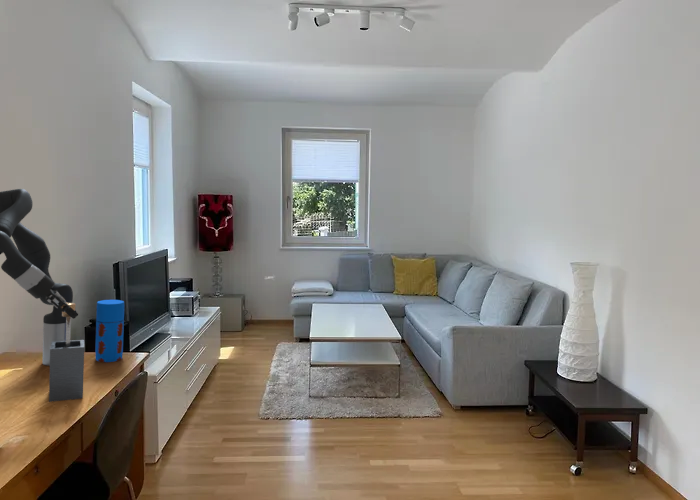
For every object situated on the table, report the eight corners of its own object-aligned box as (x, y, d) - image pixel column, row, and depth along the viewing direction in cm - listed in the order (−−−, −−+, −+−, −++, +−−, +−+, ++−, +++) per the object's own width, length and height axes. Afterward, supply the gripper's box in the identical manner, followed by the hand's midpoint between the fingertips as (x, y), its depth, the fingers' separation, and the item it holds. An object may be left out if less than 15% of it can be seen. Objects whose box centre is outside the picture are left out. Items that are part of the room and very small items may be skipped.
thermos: (111, 363, 206) (113, 305, 204) (89, 360, 208) (90, 302, 207) (127, 356, 217) (129, 301, 215) (106, 353, 219) (108, 298, 217)
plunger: (56, 374, 171) (58, 302, 169) (77, 372, 174) (79, 302, 173) (55, 380, 165) (57, 306, 164) (77, 378, 169) (79, 305, 167)
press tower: (50, 391, 172) (51, 341, 171) (82, 388, 177) (84, 339, 176) (48, 401, 164) (50, 349, 162) (82, 398, 168) (84, 347, 167)
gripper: (23, 286, 166) (63, 318, 174) (25, 293, 155) (68, 328, 163) (42, 270, 169) (81, 303, 177) (46, 276, 157) (87, 311, 165)
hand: (75, 315), depth 170 cm, fingers closed on plunger, 4 cm apart
